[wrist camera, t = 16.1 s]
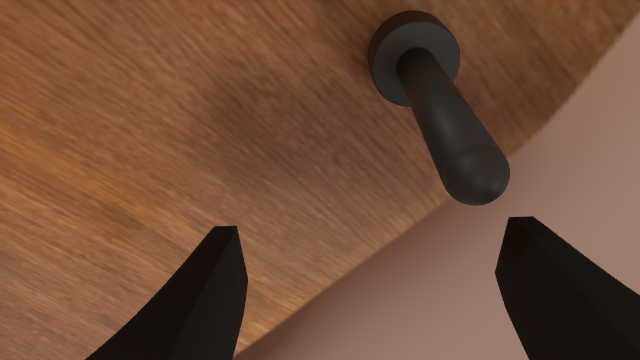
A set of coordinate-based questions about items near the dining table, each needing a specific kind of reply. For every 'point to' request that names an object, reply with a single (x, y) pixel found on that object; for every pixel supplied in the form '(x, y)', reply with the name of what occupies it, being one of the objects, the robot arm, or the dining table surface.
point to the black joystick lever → (437, 104)
